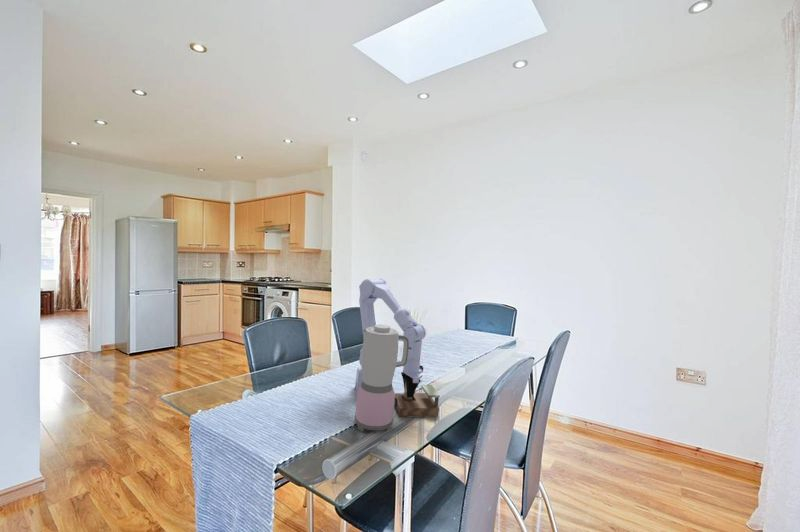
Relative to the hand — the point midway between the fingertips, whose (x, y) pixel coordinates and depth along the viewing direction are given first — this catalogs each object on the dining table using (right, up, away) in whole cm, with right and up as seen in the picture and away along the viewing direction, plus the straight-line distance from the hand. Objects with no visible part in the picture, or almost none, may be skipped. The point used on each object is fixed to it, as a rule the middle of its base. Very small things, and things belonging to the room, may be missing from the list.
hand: (408, 394), depth 129 cm
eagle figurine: (+3, -3, +25) cm, 25 cm away
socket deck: (+2, -5, -1) cm, 5 cm away
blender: (-10, -4, -14) cm, 18 cm away
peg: (0, -3, 0) cm, 3 cm away
